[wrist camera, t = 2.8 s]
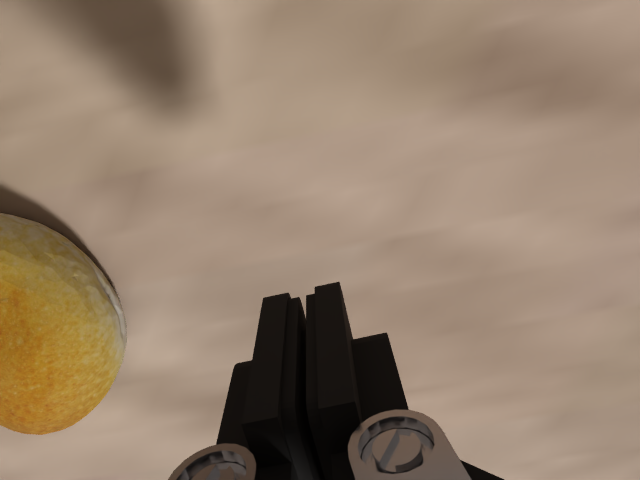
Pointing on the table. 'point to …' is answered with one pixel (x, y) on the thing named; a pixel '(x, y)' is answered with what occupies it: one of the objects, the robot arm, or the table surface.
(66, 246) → the bread roll
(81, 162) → the table surface
